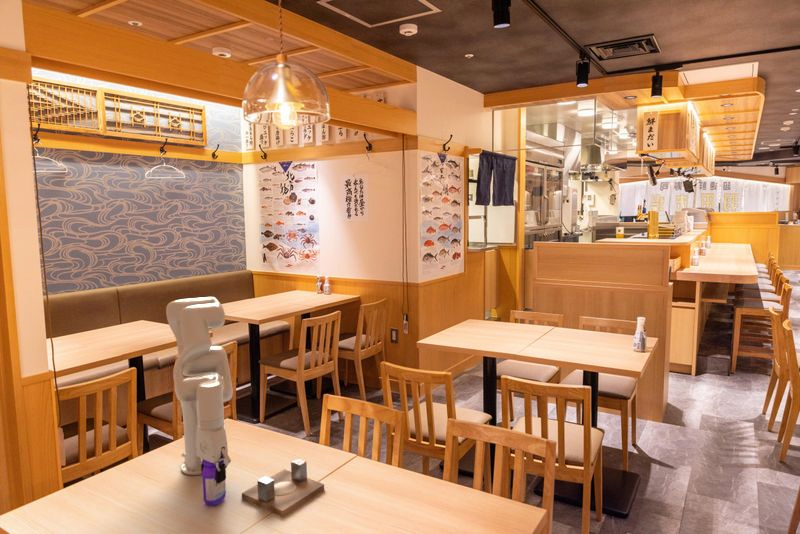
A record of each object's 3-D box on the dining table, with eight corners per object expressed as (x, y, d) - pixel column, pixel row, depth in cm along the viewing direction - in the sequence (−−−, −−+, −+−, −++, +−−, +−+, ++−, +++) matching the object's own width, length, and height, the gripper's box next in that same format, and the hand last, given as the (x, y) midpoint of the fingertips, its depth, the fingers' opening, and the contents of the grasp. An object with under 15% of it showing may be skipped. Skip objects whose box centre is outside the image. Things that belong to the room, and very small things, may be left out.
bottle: (217, 508, 162) (214, 453, 160) (200, 506, 163) (197, 452, 161) (229, 495, 169) (227, 442, 167) (212, 493, 170) (210, 441, 168)
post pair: (258, 499, 164) (257, 480, 163) (298, 475, 178) (297, 458, 177) (267, 503, 162) (266, 484, 161) (307, 478, 176) (306, 461, 175)
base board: (241, 499, 168) (241, 492, 167) (284, 474, 182) (284, 468, 182) (282, 517, 158) (282, 510, 157) (324, 490, 172) (324, 483, 172)
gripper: (182, 419, 164) (185, 475, 167) (219, 433, 155) (221, 492, 157) (203, 411, 171) (206, 465, 173) (240, 424, 161) (242, 480, 163)
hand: (213, 477), depth 165 cm, fingers closed on bottle, 6 cm apart
